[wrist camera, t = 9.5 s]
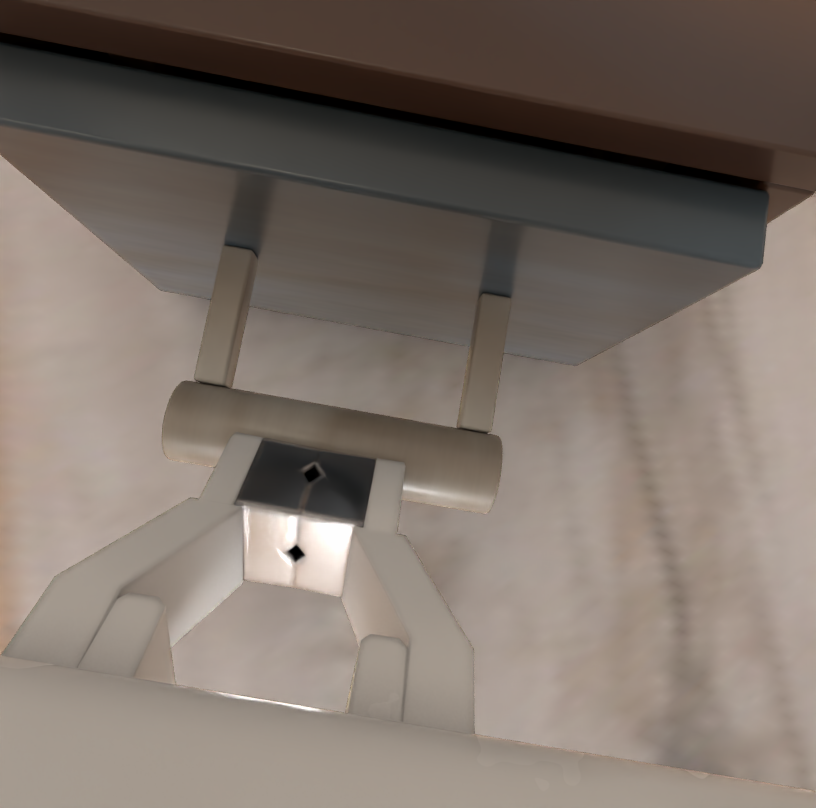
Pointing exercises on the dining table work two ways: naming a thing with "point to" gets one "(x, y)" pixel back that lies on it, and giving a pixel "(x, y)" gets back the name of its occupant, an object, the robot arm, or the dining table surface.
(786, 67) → the cabinet
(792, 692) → the dining table surface
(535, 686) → the dining table surface
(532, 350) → the drawer
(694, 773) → the robot arm
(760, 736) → the dining table surface
